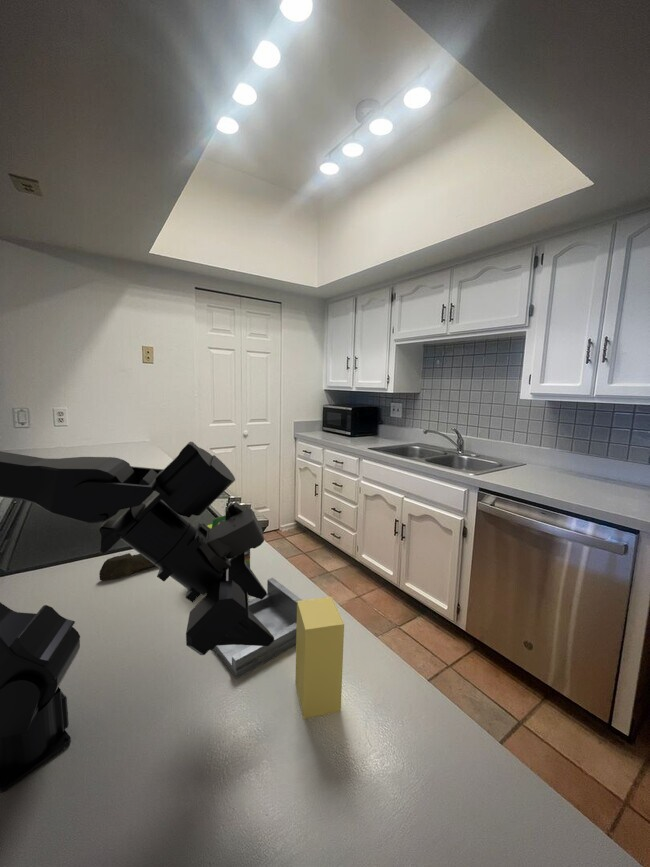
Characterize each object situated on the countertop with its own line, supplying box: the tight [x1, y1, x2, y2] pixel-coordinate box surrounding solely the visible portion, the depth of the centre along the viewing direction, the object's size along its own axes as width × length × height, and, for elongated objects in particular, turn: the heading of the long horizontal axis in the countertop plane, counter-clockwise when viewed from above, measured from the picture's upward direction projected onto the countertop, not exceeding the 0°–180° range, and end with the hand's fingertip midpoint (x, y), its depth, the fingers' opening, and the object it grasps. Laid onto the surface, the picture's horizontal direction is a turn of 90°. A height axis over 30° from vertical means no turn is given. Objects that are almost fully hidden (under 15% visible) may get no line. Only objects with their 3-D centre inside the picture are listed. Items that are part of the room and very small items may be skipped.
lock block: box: [295, 596, 345, 720], centre depth 49 cm, size 5×6×12 cm
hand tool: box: [98, 552, 155, 581], centre depth 82 cm, size 19×4×5 cm, turn 128°
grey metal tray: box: [213, 577, 303, 679], centre depth 61 cm, size 14×12×5 cm
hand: (267, 616), depth 46 cm, fingers open, 9 cm apart
